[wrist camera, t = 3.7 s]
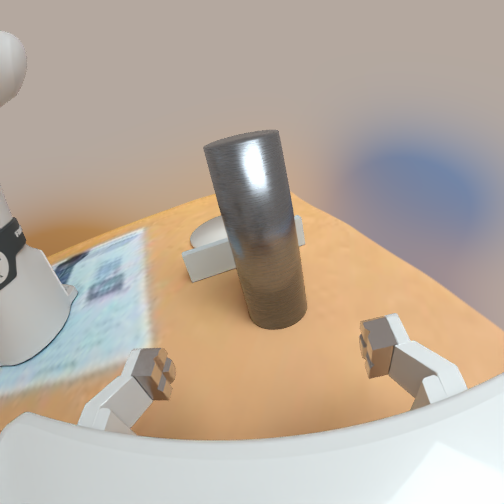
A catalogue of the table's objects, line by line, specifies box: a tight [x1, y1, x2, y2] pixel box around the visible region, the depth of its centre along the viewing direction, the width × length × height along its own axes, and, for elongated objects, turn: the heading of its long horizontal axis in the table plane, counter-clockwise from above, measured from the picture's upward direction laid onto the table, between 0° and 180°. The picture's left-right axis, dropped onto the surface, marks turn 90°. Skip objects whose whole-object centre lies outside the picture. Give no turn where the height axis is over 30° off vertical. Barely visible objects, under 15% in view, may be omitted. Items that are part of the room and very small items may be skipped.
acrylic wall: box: [182, 215, 305, 283], centre depth 33 cm, size 14×1×4 cm, turn 107°
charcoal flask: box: [204, 130, 307, 329], centre depth 22 cm, size 5×5×15 cm
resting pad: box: [190, 215, 227, 248], centre depth 42 cm, size 12×12×1 cm
